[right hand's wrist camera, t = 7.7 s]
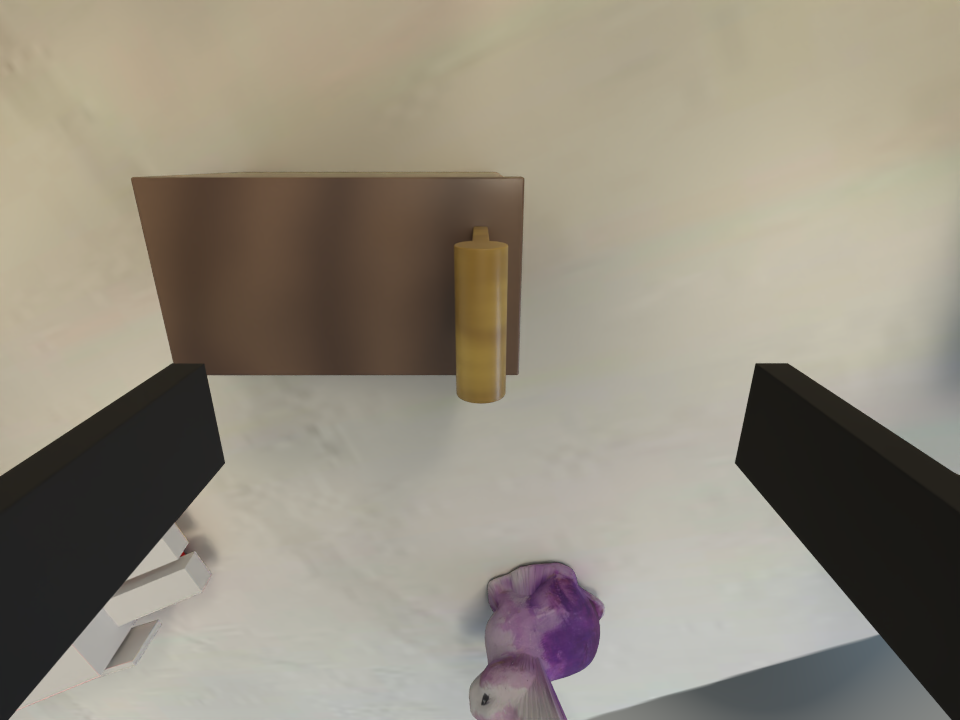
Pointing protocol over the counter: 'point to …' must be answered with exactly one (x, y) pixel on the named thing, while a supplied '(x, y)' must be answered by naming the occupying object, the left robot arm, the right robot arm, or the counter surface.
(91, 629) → the toy
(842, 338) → the counter surface
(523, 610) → the figurine
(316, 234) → the lid
